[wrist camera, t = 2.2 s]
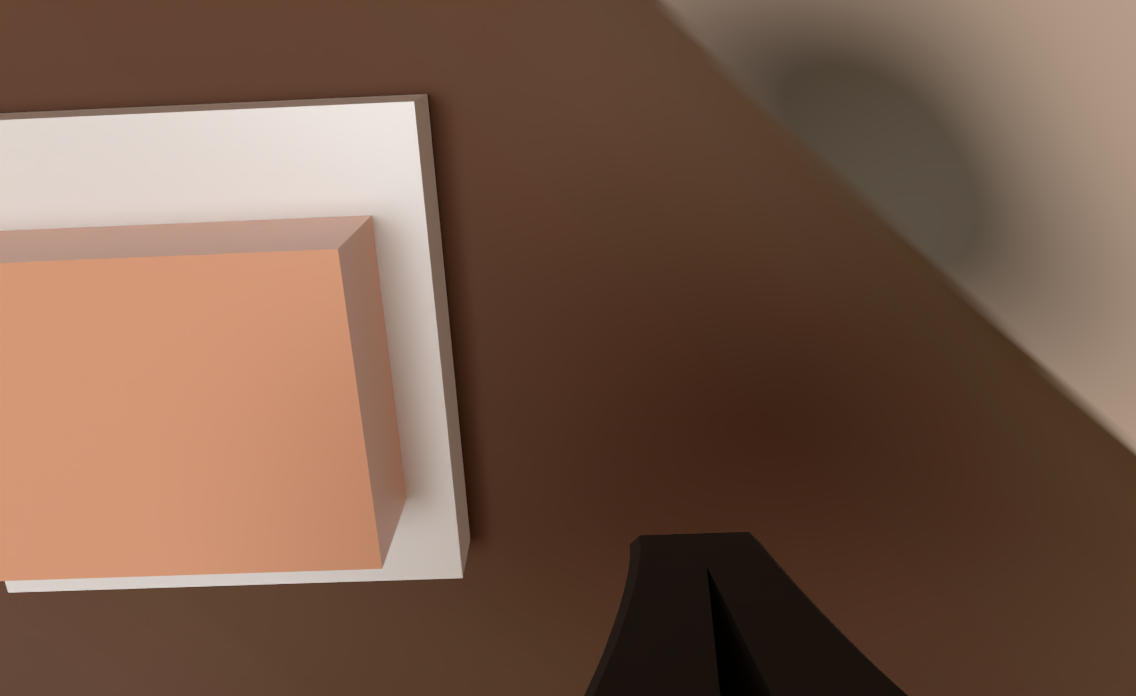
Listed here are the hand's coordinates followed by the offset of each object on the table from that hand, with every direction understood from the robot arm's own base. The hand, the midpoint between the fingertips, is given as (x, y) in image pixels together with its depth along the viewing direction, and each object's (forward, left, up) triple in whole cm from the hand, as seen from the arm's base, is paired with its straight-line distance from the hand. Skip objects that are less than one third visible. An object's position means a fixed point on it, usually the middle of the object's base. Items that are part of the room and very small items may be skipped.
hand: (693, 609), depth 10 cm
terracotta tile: (0, +9, -8) cm, 12 cm away
